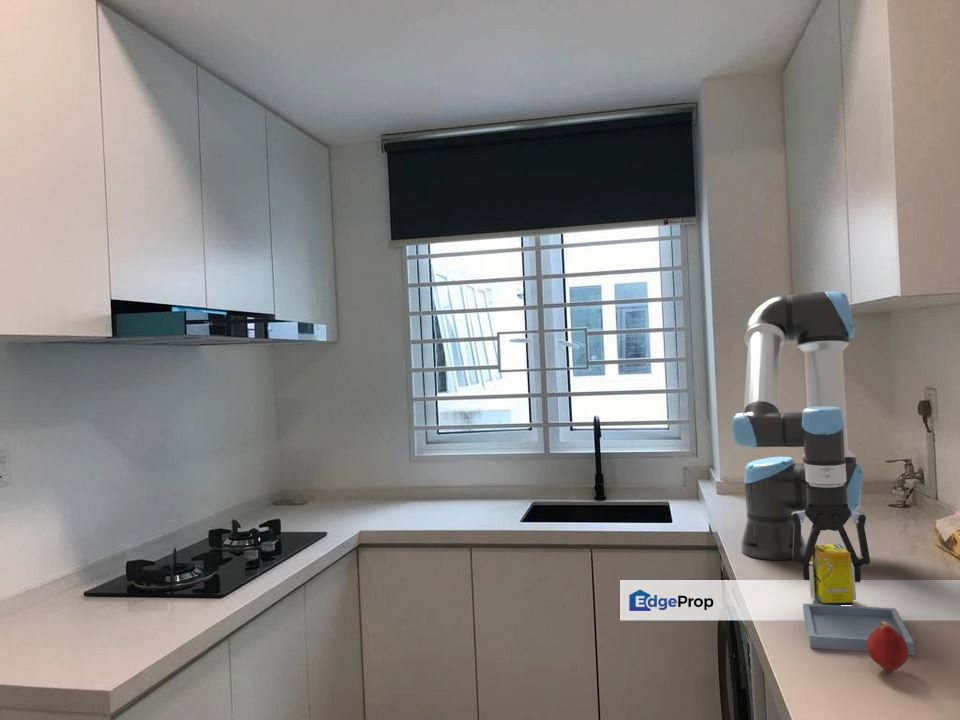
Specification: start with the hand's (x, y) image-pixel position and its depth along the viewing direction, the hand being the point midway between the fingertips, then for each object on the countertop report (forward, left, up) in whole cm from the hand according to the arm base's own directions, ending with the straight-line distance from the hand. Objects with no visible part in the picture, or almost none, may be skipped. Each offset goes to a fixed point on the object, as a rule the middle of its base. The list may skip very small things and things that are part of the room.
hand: (832, 596), depth 149 cm
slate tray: (+16, +2, -1) cm, 16 cm away
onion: (+31, +5, -1) cm, 31 cm away
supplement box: (0, 0, -1) cm, 1 cm away
